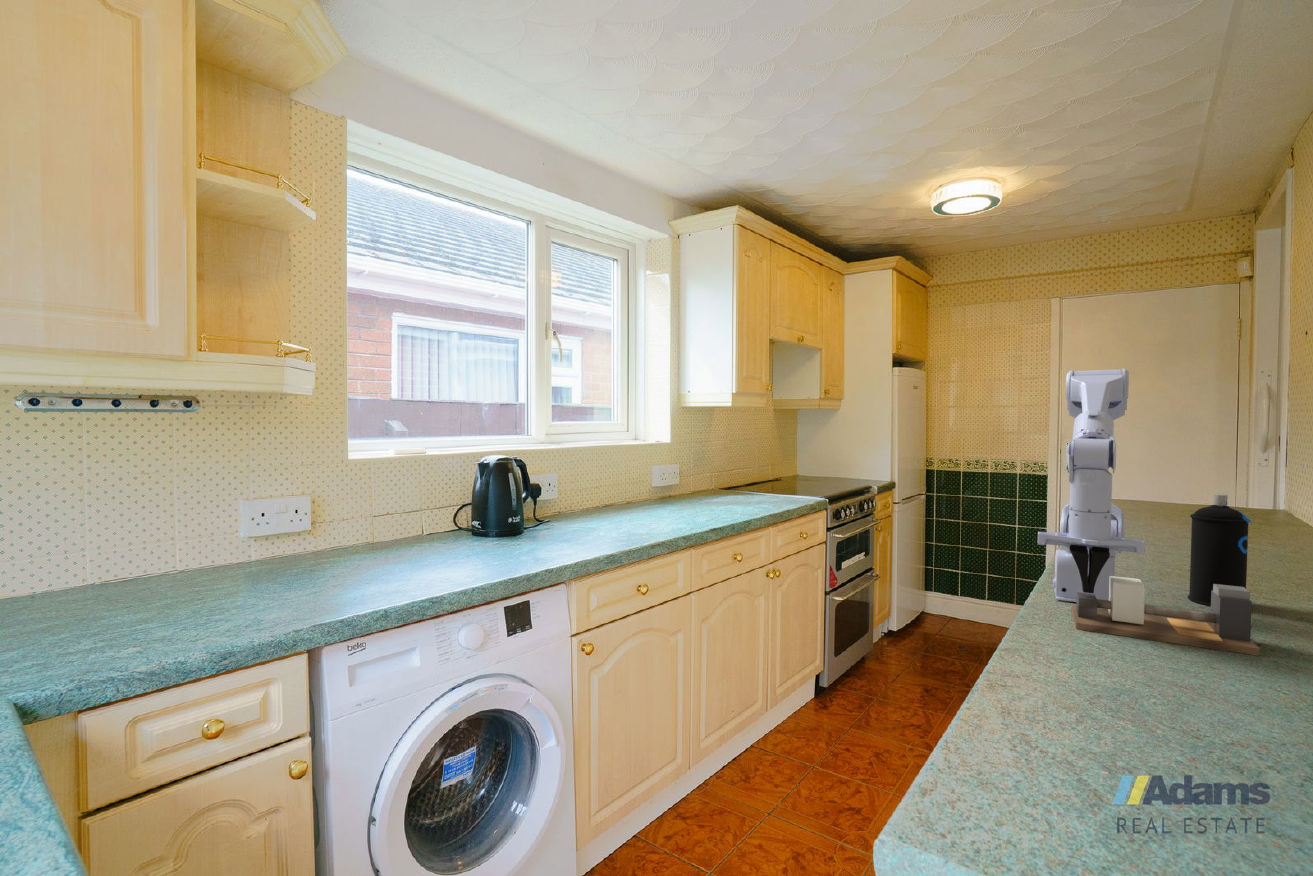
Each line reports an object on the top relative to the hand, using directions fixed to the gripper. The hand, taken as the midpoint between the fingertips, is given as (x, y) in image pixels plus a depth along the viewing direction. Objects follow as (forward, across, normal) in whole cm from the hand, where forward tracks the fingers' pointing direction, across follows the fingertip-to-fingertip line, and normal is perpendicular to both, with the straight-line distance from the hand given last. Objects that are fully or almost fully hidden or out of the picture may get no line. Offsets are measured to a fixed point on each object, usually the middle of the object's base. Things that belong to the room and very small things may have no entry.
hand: (1087, 591), depth 103 cm
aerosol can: (+5, +22, +25) cm, 33 cm away
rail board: (+5, +9, 0) cm, 10 cm away
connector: (+5, +18, 0) cm, 19 cm away
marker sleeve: (+4, +5, 0) cm, 6 cm away
